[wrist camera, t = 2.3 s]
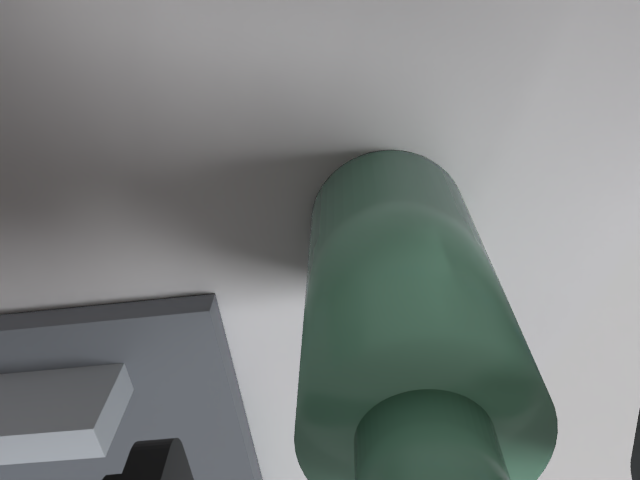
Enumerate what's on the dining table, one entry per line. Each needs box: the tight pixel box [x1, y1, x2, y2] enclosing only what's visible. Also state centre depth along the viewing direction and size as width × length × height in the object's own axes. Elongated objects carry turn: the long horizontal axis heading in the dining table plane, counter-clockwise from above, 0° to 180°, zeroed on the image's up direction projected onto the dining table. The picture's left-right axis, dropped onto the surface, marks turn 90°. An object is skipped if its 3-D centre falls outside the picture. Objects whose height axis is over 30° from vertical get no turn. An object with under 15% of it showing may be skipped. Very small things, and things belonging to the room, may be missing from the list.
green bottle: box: [294, 150, 558, 480], centre depth 14 cm, size 5×5×12 cm
